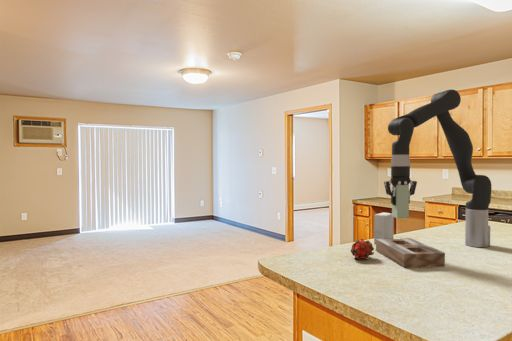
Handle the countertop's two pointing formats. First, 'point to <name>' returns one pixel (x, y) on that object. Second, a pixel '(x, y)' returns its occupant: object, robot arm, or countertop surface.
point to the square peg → (401, 202)
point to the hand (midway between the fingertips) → (400, 204)
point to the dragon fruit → (362, 249)
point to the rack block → (410, 253)
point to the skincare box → (383, 226)
